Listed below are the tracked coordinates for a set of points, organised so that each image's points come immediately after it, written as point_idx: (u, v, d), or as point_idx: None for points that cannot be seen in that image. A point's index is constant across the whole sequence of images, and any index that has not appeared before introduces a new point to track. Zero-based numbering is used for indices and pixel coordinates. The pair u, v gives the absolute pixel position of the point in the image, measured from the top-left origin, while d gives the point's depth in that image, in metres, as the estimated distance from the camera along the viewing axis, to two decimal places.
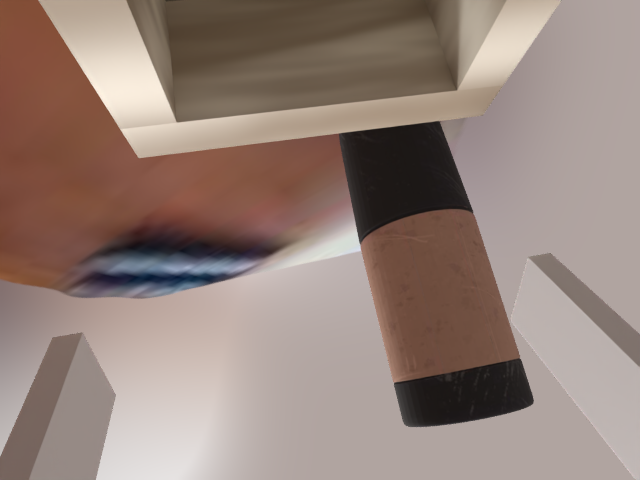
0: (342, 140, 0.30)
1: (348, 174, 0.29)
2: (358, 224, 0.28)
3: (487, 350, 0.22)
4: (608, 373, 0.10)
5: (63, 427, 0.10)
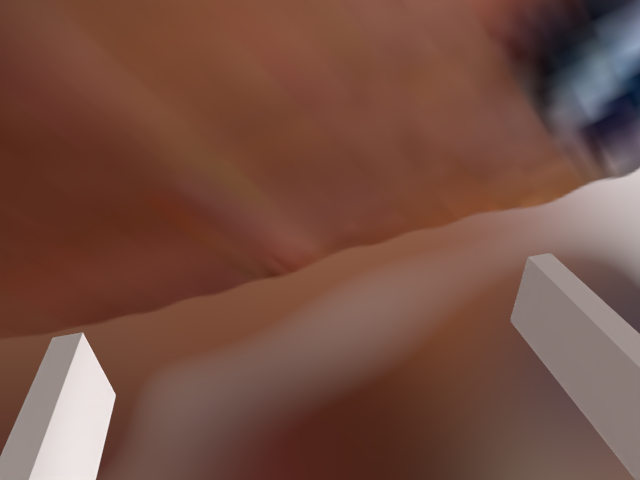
0: None
1: None
2: None
3: None
4: (608, 373, 0.10)
5: (63, 427, 0.10)
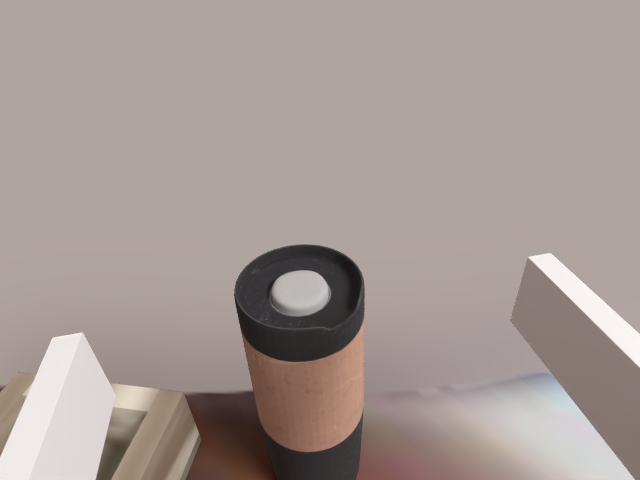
0: None
1: None
2: (298, 459, 0.29)
3: None
4: (608, 373, 0.10)
5: (63, 427, 0.10)
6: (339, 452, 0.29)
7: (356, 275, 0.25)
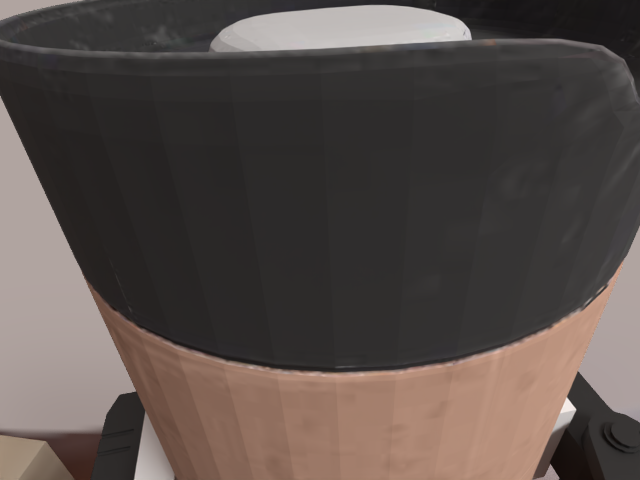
0: None
1: None
2: None
3: None
4: None
5: None
6: None
7: (570, 6, 0.06)
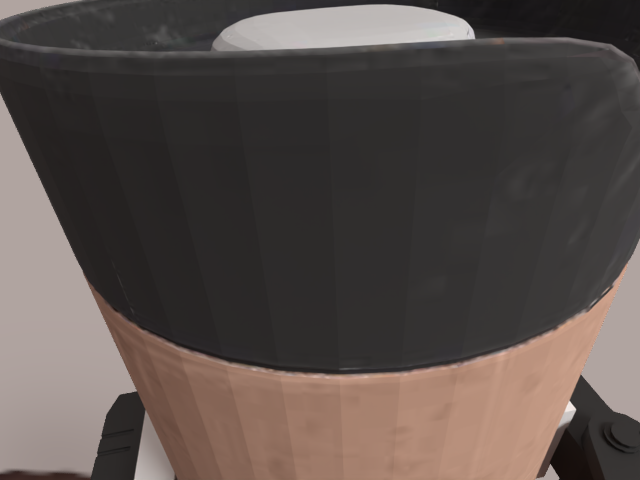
0: None
1: None
2: None
3: None
4: None
5: None
6: None
7: (573, 5, 0.06)
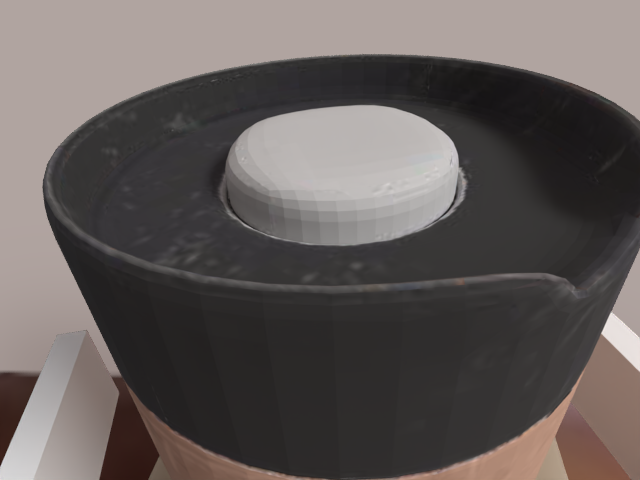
0: None
1: None
2: None
3: None
4: (603, 371, 0.10)
5: (68, 423, 0.10)
6: None
7: (548, 110, 0.07)
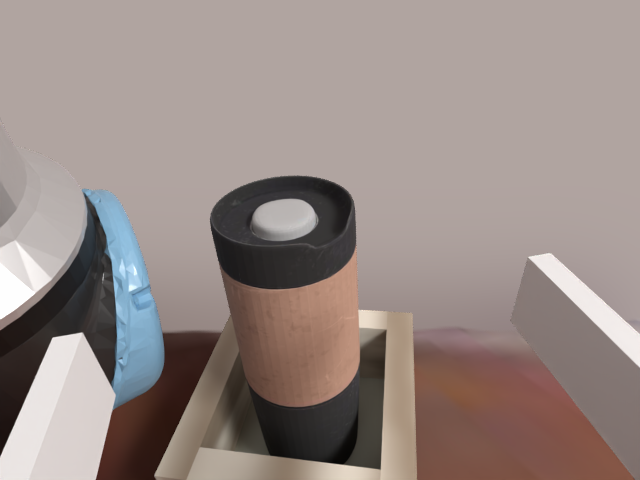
0: None
1: (293, 450, 0.28)
2: (287, 417, 0.26)
3: None
4: (608, 373, 0.10)
5: (63, 427, 0.10)
6: (333, 409, 0.26)
7: (346, 201, 0.23)
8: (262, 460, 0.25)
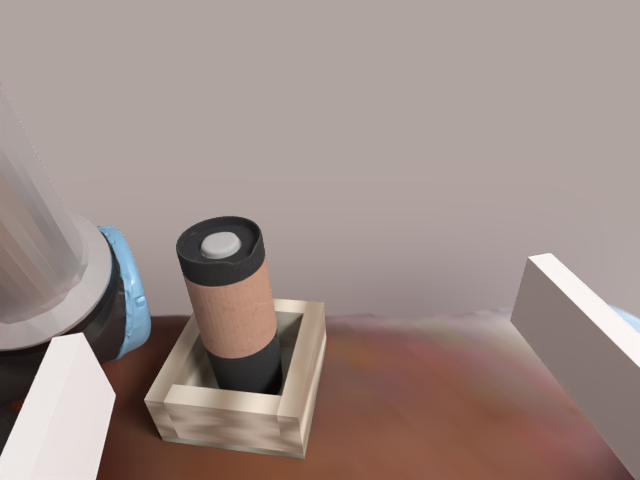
0: None
1: (233, 389, 0.43)
2: (227, 366, 0.41)
3: None
4: (608, 373, 0.10)
5: (63, 427, 0.10)
6: (256, 361, 0.42)
7: (258, 234, 0.38)
8: (210, 391, 0.41)
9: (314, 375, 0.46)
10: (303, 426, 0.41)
